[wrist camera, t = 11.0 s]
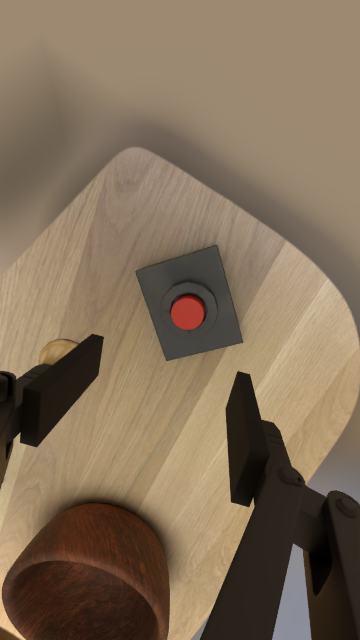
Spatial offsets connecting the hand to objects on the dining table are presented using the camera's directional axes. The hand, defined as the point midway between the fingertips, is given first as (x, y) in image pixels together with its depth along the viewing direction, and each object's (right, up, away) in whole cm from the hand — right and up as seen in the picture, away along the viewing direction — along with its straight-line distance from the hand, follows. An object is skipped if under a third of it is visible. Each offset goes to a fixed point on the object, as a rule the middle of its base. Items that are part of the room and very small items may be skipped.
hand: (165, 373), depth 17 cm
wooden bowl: (-12, -37, +33) cm, 51 cm away
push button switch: (+2, +5, +18) cm, 19 cm away
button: (+2, +4, +15) cm, 16 cm away
